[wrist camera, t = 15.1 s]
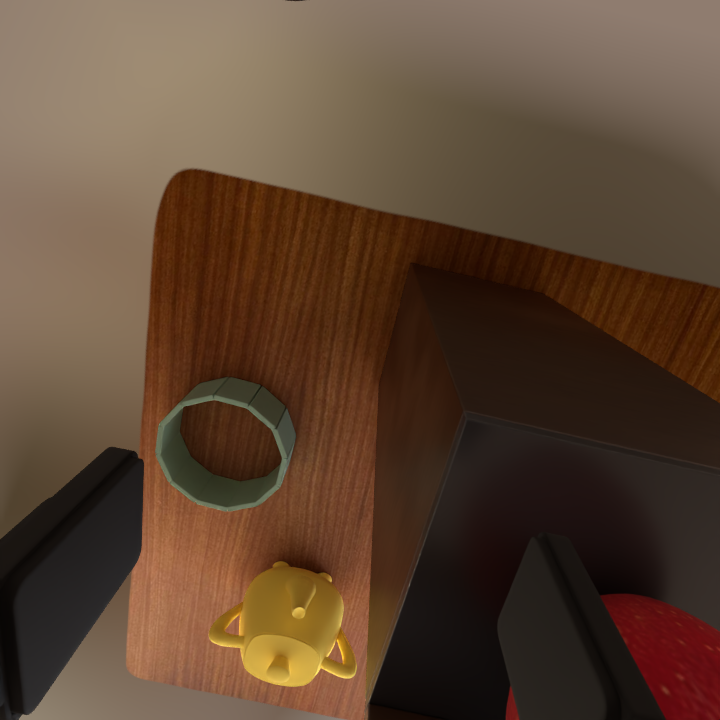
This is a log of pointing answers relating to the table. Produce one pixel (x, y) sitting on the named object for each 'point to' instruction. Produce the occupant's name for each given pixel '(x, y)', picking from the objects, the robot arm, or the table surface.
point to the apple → (667, 656)
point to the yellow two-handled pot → (288, 627)
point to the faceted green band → (196, 477)
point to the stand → (521, 484)
